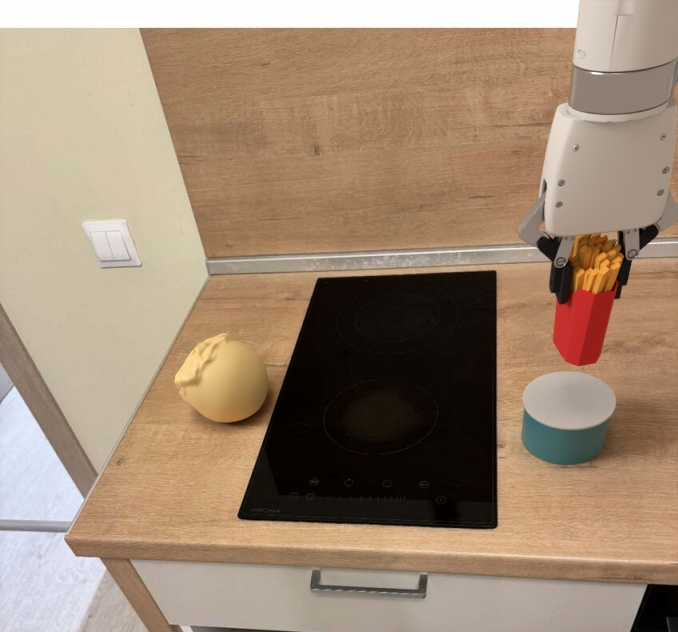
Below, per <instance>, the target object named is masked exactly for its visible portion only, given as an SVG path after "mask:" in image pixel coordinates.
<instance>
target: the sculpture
mask: <svg viewBox="0 0 678 632" xmlns="http://www.w3.org/2000/svg"><path fill="white" fill-rule="evenodd" d="M174 385H175V387H176V388H177V389H178V391H179V395H180V397H182V400H183V402H184V403H187V404H189V405H190V406H191V407H192V408H194V409H195V410H196V411H197V412H198V413H199V414H201V415H202V416H203V417H205V418H206V419H208V420H211V421H213V422H217V423H234V422H239V421H243V420H246V419H247V418H250V417H251V416H253V415H254V414H256V413H257V412H258V411H259V410H260V409H261V408H262V406H263V405H264V402H265V400H266V398H267V395H268V391H269V375H268V370H267V367H266V365H265V363H264V361H263V359H262V358H261V356H260V355H259V353H257V351H255V350H254V349H253V348H251V347H250V346H249V345H246V344H245V343H244V342H243V343H242V342H240V341H237V340H234V339H232V337H231V335H230V334H229V333H227V332H222V333H219V334H217V335H215V336H213V337H210V338H206V339H205V340H203V341H201V342H198V343H197V344H196V345H195V346H194V348H193V349H192V350H191V351H190V353H189V354H188V355H187V357H186V358H185V360H184V362H183V364H182V365H181V367H180V368H179V370H178V371H177V372H176V374H175V376H174Z"/></svg>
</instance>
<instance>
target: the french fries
mask: <svg viewBox="0 0 678 632" xmlns="http://www.w3.org/2000/svg"><path fill="white" fill-rule="evenodd" d="M601 235H602V233H598V234H589V235H580V236H577V237H576V240H575V242H574V245H573V248H572V250H571V253H570V256H569V262H570V265H571V267H572V273H571V280H570V287H569V294H568V301H567V303H565V304H562V305H559V303H558V300H557V299H556V303H555V312H554V323H553V331H552V333H553V335H552V343H553V345H554V346H555V348H556V349H557V351H558V353H559V354H560V356H561V357H562V359H563V360H564V361H565V363H568V364H570V365H573V366H576V367H583V366H589V365H594V364H597V363H598V362H599V359H600V357H601V354H602V350H603V346H604V343H605V338H606V334H607V330H608V327H609V322H610V318H611V314H612V310H613V306H614V302H615V299H614V298H615V294H616V290H617V286H618V281H617V279H616V278H617V275H618V272H619V269H620V266H621V263H622V260H623V257H624V256H623V255H622V253H619V251H620V249H621V246H620V244H618V243H617V240H616V238H613V239H610V240H609V237H608V235H607V234H604V235H603V236H601ZM616 244H618V245H616Z"/></svg>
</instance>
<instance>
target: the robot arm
mask: <svg viewBox="0 0 678 632" xmlns="http://www.w3.org/2000/svg"><path fill="white" fill-rule="evenodd" d="M677 84H678V0H579V1H578V12H577V20H576V30H575V39H574V47H573V55H572V63H571V70H570V80H569V87H568V88H569V89H568V97H567V102H564V103H561V104H559V105H557V106H556V110H555V113H554V116H553V120H552V123H551V126H550V131H549V135H548V139H547V144H546V149H545V155H544V159H543V160H544V161H543V165H542V173H541V178H540V184H539V191H538V199H537V200H536V202H534V204H533V206H532V207H531V209H530V210H529V211H528V212H527V214H526V215H525V216H524V217H523V219H522V220H521V222H520V223H519V224H518V225H517V228H516V232H517V235H518V238H519V239H520V240H521V241H523V242H525V243H527V244H529V245H530V246H532V247H535V248H536V249H538V251H539V252H540V253H542V254H543V255H544V256H545V257H546V258H547V259H548V260H549V261H550V262H551V263H550V273H549V279H548V280H549V281H548V288H549V292H550V294H555V297H556V301H557V300H558V303H559V305H562V304H565V303H567V301H568V294H569V287H570V280H571V273H572V267H571V265H570V262H569V256H570V253H571V250H572V248H573V245H574V242H575V240H576V237H577V236H580V235H589V234H592V235H593V234H598V233H601V234H606V233H613V232H616V235H617V236H616V237H617V243H616V245H618V244H620V246H621V249H620V251H619V253H622V255H623V256H624V257H623V260H622V263H621V266H620V269H619V272H618V275H617V278H616V279H617V281H618V286H617V290H616V294H615V298H614V300H620V298H621V296H622V290H623V287H626V286H627V285H628V281H629V277H630V273H631V268H632V264H633V261H634V260H636V259H637V258H638V257H639V255H640V251H641V250H642V249H644V248H645V247H646V246H648V245H649V244H650V243H651V242H652V241H653V240H654V239H656V238H657V237H658V235H659V233H662V232H664V231H665V230H667V229H669V228H670V227H672V226H673V225H675V224H676V223H678V204H677V202H676V200H675V199H674V196H673V195H672V192H671V191H670V185H671V180H672V174H673V173H672V172H673V167H674V160H675V159H674V158H675V150H676V137H677V124H678V122H677V121H678V100H677V98H676V97H675V96H674V94H675V89H676V86H677ZM544 221H545V222H544ZM543 223H544V224H545V226H544V227H545V231H543V230H541V229H540V227H541V226H542V224H543ZM616 245H615V246H616Z"/></svg>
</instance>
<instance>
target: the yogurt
mask: <svg viewBox="0 0 678 632" xmlns="http://www.w3.org/2000/svg"><path fill="white" fill-rule="evenodd" d="M521 401H522V402H521V403H522V406H523V414H522V424H521V425H522V426H521V435H520V439H521V442H522V444H523V446H524V448H525V449H526V450H527V451H528V452H529V454H530V455H532V456H533V457H535V458H537V459H539V460H541V461H543V462H546V463H549V464H552V465H558V466H559V465H560V466H574V465H580V464H583V463H587V462H589V461H591V460H593V459H594V458H596V457H597V456H598V455H600V453H601V452H602V450H603V449H604V446H605V442H606V437H607V434H608V429H609V425H610V420H611V417H612V416H613V414H614V413H615V410H616V407H617V397H616V394H615V393H614V391H613V389H612V388H611V386H609V385H608V384H607V383H606V382H605V381H603V380H601V379H599V378H598V377H596V376H593V375H590V374H587V373H583V372H579V371H565V370H563V371H554V372H549V373H545V374H542V375H540V376H538V377H536V378H534V379H533V380H531V381H530V382H529V383H528V384H527V385H526V386H525V388H524V389H523V392H522V399H521Z"/></svg>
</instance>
